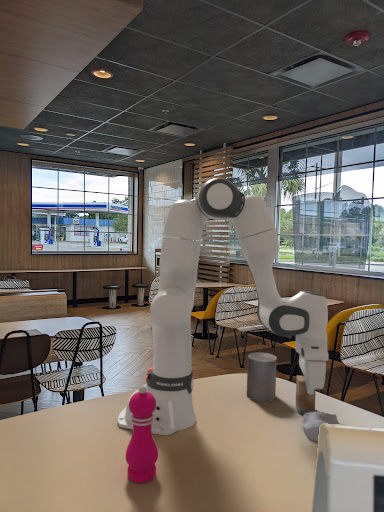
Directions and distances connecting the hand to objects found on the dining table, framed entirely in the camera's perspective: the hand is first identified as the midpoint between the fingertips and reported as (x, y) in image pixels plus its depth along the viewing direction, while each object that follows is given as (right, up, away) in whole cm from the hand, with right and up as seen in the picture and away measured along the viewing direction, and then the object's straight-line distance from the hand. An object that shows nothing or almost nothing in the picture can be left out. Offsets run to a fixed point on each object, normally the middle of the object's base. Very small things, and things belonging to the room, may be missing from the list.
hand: (309, 392), depth 114 cm
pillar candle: (-11, -8, +17) cm, 22 cm away
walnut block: (+1, -8, +7) cm, 11 cm away
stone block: (+1, -9, -6) cm, 11 cm away
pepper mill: (-46, -9, -28) cm, 54 cm away
